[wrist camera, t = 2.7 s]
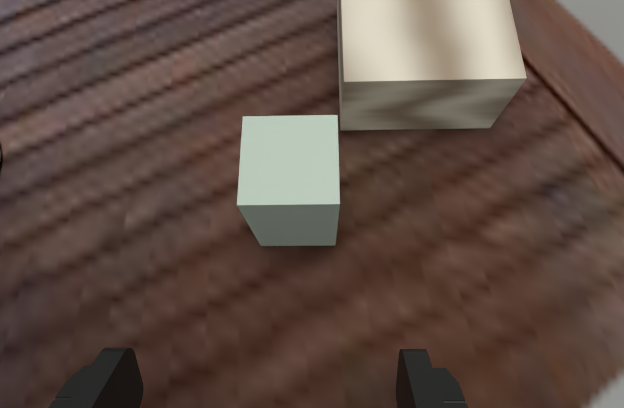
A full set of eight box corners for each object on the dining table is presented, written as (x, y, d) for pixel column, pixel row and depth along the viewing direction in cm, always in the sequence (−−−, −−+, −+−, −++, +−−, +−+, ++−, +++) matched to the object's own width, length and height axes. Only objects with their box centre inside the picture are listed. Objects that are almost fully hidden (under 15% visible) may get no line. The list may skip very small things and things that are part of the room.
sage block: (260, 246, 27) (236, 205, 20) (263, 177, 29) (242, 116, 21) (335, 245, 27) (339, 204, 20) (333, 177, 29) (337, 115, 21)
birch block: (340, 132, 30) (343, 81, 25) (337, 17, 34) (339, -49, 28) (488, 129, 30) (526, 78, 24) (468, 14, 34) (497, -53, 28)
